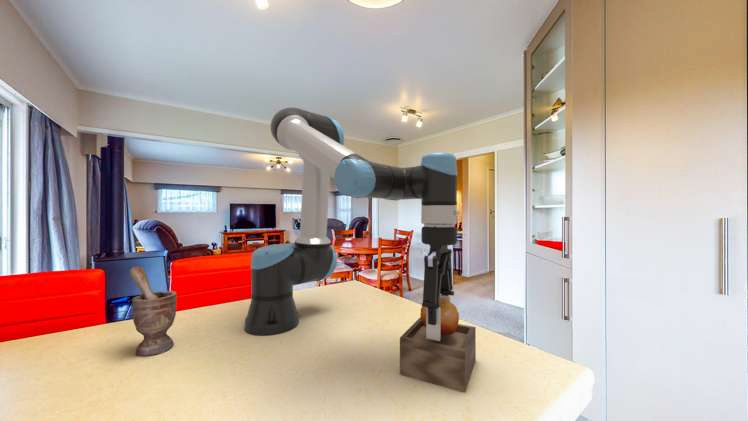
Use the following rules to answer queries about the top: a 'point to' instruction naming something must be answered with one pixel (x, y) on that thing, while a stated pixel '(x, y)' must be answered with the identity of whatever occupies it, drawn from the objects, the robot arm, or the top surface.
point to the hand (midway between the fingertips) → (439, 331)
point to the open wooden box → (439, 356)
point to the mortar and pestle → (152, 315)
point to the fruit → (445, 317)
